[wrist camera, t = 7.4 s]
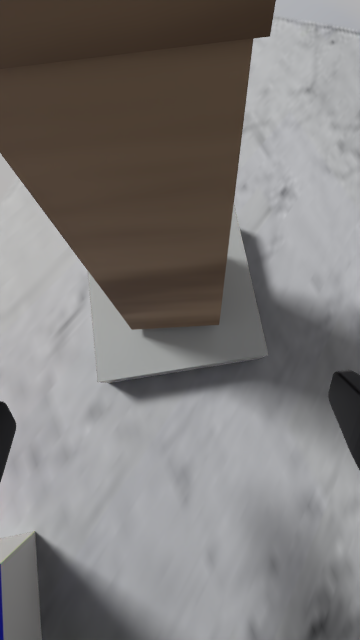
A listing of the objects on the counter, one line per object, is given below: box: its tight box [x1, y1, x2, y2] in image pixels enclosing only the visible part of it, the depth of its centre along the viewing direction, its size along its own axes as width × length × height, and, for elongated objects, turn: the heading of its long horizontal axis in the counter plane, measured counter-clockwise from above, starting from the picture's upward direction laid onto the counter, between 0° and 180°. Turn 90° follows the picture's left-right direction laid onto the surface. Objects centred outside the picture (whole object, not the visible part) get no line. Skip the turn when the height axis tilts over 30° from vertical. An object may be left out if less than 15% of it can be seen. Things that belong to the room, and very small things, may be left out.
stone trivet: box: [88, 205, 268, 383], centre depth 19 cm, size 10×10×3 cm
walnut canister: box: [0, 0, 276, 330], centre depth 11 cm, size 5×5×14 cm
